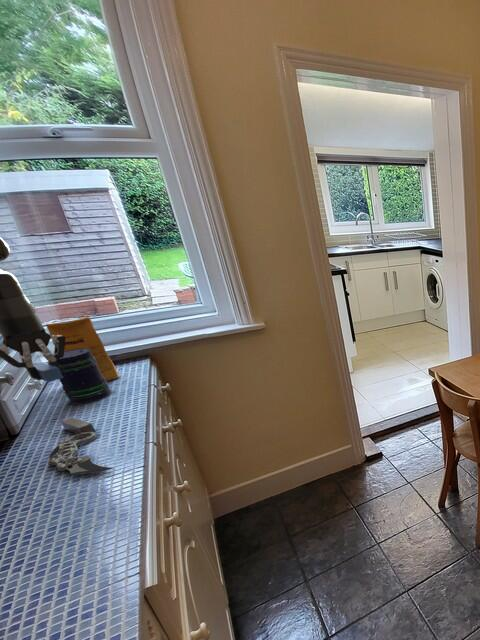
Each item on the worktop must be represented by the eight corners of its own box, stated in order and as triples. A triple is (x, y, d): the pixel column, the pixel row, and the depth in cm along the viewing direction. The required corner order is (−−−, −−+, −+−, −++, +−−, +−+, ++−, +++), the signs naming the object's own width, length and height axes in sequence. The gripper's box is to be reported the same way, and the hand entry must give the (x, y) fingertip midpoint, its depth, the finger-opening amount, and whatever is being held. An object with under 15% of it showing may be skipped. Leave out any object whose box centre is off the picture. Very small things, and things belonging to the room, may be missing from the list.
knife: (114, 465, 93) (50, 485, 86) (116, 471, 93) (53, 491, 87) (99, 427, 110) (45, 441, 104) (101, 432, 111) (48, 446, 104)
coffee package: (70, 383, 143) (37, 323, 134) (116, 372, 152) (88, 314, 143) (73, 390, 137) (39, 327, 128) (121, 378, 146) (92, 318, 137)
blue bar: (63, 377, 111) (58, 367, 109) (48, 381, 108) (42, 371, 107) (48, 372, 115) (42, 362, 114) (33, 376, 112) (27, 366, 111)
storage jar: (73, 407, 126) (48, 361, 119) (67, 399, 131) (43, 355, 125) (115, 395, 133) (93, 351, 127) (108, 388, 138) (87, 346, 132)
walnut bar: (95, 431, 111) (91, 423, 110) (83, 436, 109) (79, 427, 108) (76, 425, 115) (72, 417, 114) (65, 429, 113) (60, 421, 112)
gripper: (46, 307, 112) (75, 366, 119) (-33, 320, 100) (5, 384, 107) (57, 309, 109) (87, 369, 116) (-23, 323, 97) (16, 389, 104)
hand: (47, 376), depth 111 cm, fingers closed on blue bar, 3 cm apart
